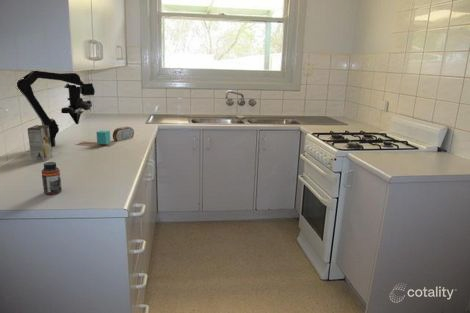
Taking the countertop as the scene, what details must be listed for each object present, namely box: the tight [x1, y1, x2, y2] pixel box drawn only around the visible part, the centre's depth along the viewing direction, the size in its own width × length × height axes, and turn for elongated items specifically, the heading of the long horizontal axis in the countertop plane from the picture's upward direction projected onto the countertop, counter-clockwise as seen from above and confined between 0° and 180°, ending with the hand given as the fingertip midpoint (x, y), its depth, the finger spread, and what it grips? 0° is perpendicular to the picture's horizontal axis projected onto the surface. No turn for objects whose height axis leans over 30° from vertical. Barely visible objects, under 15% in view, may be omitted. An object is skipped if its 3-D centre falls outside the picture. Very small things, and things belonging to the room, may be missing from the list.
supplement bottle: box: [41, 161, 63, 196], centre depth 133 cm, size 6×6×11 cm
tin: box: [112, 126, 135, 142], centre depth 219 cm, size 15×3×8 cm, turn 150°
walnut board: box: [75, 141, 116, 148], centre depth 205 cm, size 9×20×1 cm, turn 82°
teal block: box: [96, 129, 111, 144], centre depth 203 cm, size 5×5×7 cm
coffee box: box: [27, 124, 53, 162], centre depth 175 cm, size 9×6×16 cm
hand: (77, 124), depth 205 cm, fingers closed
